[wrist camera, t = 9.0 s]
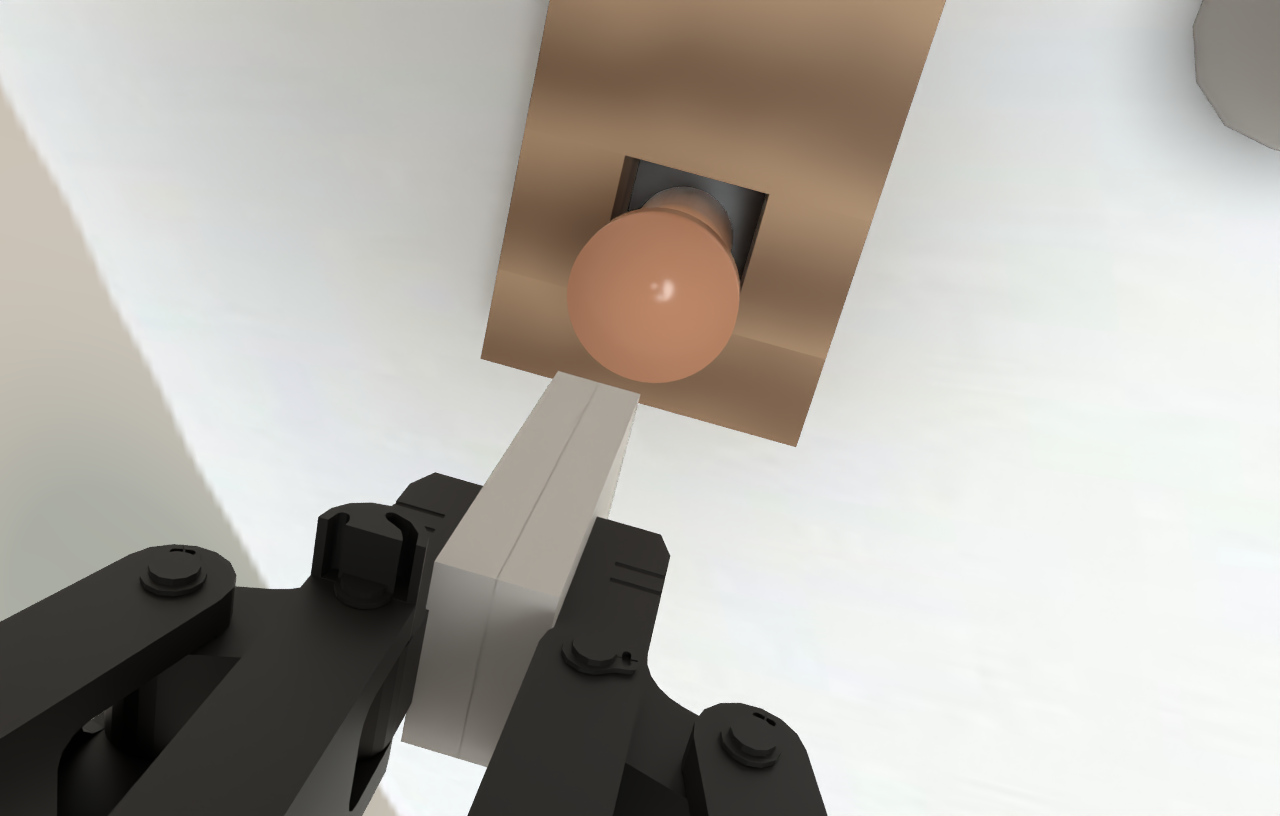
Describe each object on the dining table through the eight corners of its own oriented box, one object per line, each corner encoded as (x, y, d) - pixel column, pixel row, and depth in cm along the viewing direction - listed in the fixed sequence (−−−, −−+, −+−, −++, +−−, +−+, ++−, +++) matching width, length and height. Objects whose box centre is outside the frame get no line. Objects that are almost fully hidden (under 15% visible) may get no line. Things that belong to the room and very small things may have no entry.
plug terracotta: (633, 153, 35) (587, 194, 27) (766, 189, 35) (759, 242, 27) (602, 282, 37) (551, 357, 29) (729, 317, 37) (712, 402, 29)
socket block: (654, -368, 33) (632, -430, 28) (1017, -277, 32) (1054, -325, 28) (514, 320, 42) (480, 358, 37) (795, 398, 42) (796, 447, 37)
